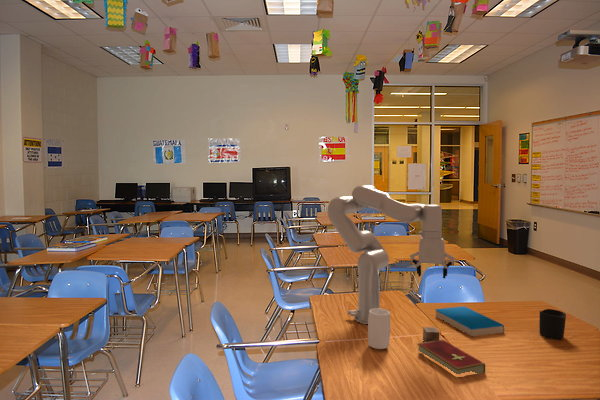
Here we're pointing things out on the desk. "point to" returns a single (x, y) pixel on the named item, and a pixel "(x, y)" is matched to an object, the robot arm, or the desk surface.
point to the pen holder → (552, 324)
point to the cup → (379, 328)
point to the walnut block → (430, 334)
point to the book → (469, 321)
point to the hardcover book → (451, 357)
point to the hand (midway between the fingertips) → (431, 276)
